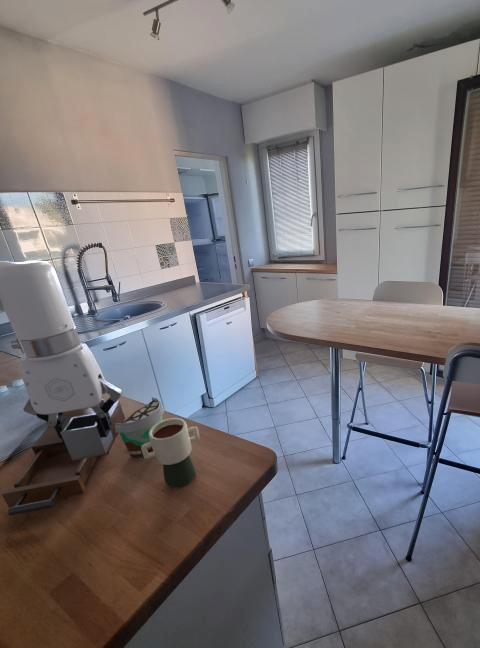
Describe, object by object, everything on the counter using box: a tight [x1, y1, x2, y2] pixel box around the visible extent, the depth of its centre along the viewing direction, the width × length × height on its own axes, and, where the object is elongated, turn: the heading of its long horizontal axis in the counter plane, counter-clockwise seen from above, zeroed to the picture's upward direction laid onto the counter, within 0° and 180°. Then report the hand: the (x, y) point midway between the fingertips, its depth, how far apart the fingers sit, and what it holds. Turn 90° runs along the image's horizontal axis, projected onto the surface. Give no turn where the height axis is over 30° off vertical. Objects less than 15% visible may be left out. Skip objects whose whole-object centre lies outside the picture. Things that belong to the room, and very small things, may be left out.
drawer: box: [1, 444, 99, 517], centre depth 70 cm, size 19×13×4 cm
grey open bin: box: [61, 414, 114, 460], centre depth 60 cm, size 6×5×6 cm
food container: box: [115, 396, 165, 457], centre depth 79 cm, size 12×6×10 cm, turn 160°
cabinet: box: [31, 400, 126, 457], centre depth 84 cm, size 16×15×6 cm
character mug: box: [141, 417, 200, 488], centre depth 68 cm, size 11×7×13 cm, turn 120°
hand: (88, 435), depth 60 cm, fingers closed on grey open bin, 5 cm apart
